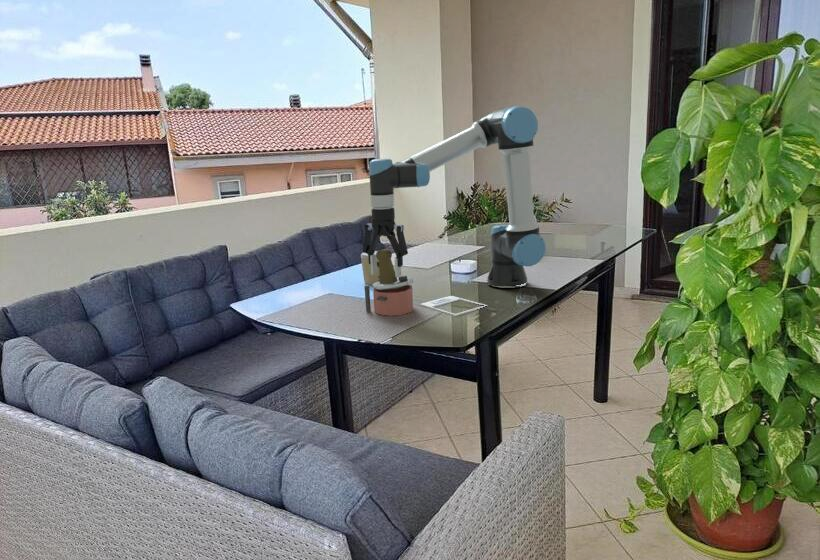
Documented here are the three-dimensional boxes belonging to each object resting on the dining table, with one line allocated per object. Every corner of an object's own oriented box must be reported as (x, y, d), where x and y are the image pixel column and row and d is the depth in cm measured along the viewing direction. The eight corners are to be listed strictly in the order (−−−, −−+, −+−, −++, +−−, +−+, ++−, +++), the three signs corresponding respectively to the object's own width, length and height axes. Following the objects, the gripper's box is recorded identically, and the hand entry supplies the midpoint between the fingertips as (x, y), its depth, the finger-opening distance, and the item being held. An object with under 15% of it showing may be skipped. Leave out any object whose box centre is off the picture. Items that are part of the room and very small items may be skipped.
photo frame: (451, 295, 206) (487, 304, 192) (451, 298, 206) (487, 307, 192) (419, 303, 197) (455, 314, 183) (419, 306, 197) (455, 317, 184)
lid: (420, 278, 194) (419, 271, 193) (400, 288, 182) (399, 281, 182) (386, 280, 200) (384, 273, 200) (365, 290, 189) (364, 283, 188)
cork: (379, 281, 195) (374, 250, 193) (397, 278, 195) (391, 247, 193) (379, 284, 189) (374, 252, 187) (398, 281, 189) (392, 249, 187)
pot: (421, 305, 197) (420, 279, 195) (399, 318, 184) (397, 291, 181) (385, 301, 204) (384, 276, 202) (361, 314, 190) (359, 288, 188)
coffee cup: (382, 285, 227) (380, 255, 224) (359, 285, 229) (357, 255, 226) (387, 279, 236) (386, 250, 233) (366, 279, 238) (364, 250, 235)
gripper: (417, 206, 184) (419, 274, 190) (361, 205, 194) (365, 269, 200) (406, 210, 178) (408, 280, 184) (348, 208, 188) (353, 274, 194)
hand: (386, 274), depth 192 cm, fingers open, 9 cm apart
